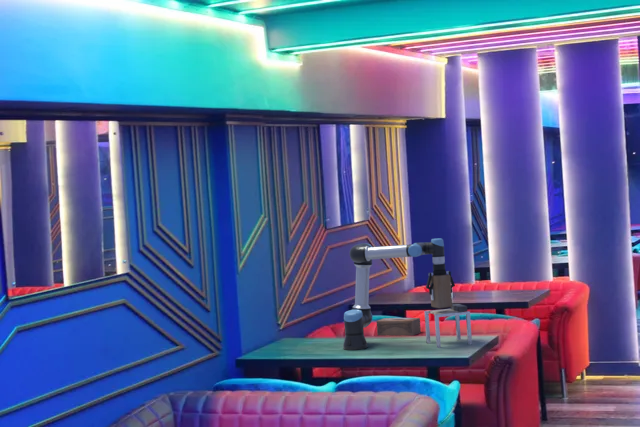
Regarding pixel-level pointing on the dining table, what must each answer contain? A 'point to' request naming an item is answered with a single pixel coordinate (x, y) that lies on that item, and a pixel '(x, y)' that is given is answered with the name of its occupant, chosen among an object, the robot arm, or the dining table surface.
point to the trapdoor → (453, 309)
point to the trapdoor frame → (456, 326)
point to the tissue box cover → (398, 327)
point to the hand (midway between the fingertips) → (441, 299)
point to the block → (441, 291)
